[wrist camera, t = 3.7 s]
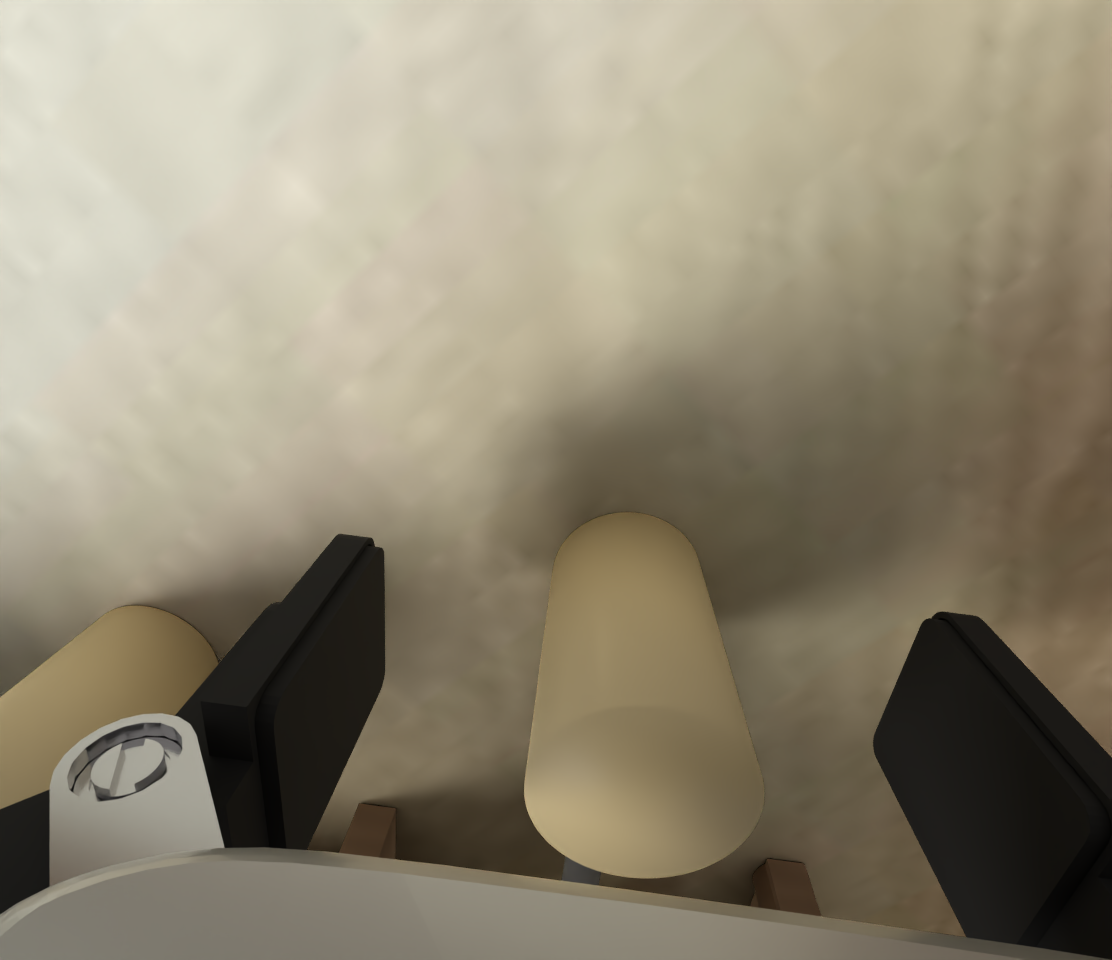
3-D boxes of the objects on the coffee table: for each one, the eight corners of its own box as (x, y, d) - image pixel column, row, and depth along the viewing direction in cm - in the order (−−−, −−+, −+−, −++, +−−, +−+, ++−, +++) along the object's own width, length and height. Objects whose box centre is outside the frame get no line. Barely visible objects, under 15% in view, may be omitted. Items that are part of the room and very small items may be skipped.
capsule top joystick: (306, 1005, 20) (210, 1262, 15) (130, 980, 21) (-23, 1228, 16) (270, 622, 14) (92, 841, 9) (20, 589, 14) (-290, 788, 9)
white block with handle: (633, 1051, 20) (644, 1327, 15) (453, 1026, 20) (406, 1291, 15) (782, 531, 13) (906, 739, 8) (493, 494, 13) (423, 675, 8)
